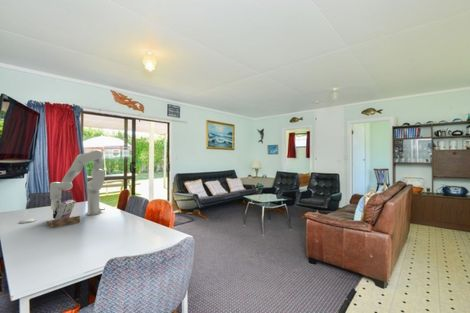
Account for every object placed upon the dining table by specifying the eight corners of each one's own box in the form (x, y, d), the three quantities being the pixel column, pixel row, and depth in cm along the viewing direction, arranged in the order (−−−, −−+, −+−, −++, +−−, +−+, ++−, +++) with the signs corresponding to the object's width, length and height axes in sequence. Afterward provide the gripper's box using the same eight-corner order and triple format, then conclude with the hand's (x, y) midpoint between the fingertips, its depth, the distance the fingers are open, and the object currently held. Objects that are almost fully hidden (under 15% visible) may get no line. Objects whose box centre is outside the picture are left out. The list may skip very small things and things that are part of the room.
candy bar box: (62, 217, 195) (70, 199, 195) (68, 219, 195) (76, 201, 196) (53, 220, 184) (61, 201, 184) (59, 223, 184) (67, 204, 184)
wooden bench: (73, 219, 195) (73, 213, 195) (79, 222, 186) (79, 216, 186) (46, 224, 180) (46, 218, 180) (51, 227, 172) (51, 220, 172)
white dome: (33, 219, 195) (33, 217, 195) (37, 221, 189) (37, 219, 189) (18, 221, 187) (18, 220, 187) (20, 224, 181) (20, 222, 181)
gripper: (64, 196, 193) (64, 218, 193) (58, 195, 202) (57, 216, 202) (53, 198, 187) (53, 220, 187) (47, 196, 196) (47, 217, 196)
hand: (55, 218), depth 195 cm, fingers closed
